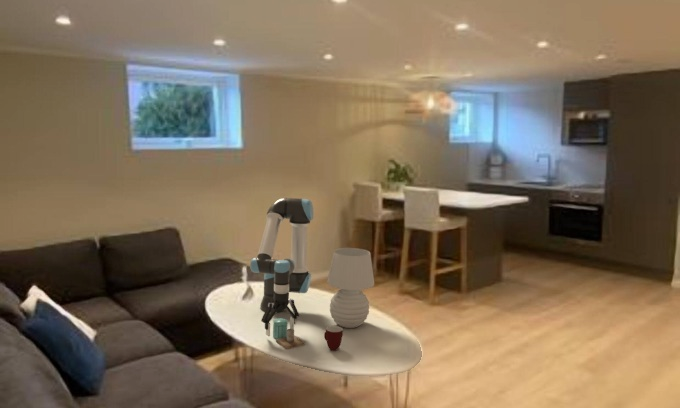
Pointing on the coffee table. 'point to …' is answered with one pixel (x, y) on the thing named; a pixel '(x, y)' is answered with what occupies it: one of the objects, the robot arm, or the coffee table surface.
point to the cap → (280, 328)
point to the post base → (290, 345)
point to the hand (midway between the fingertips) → (280, 332)
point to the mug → (333, 337)
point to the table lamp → (350, 286)
